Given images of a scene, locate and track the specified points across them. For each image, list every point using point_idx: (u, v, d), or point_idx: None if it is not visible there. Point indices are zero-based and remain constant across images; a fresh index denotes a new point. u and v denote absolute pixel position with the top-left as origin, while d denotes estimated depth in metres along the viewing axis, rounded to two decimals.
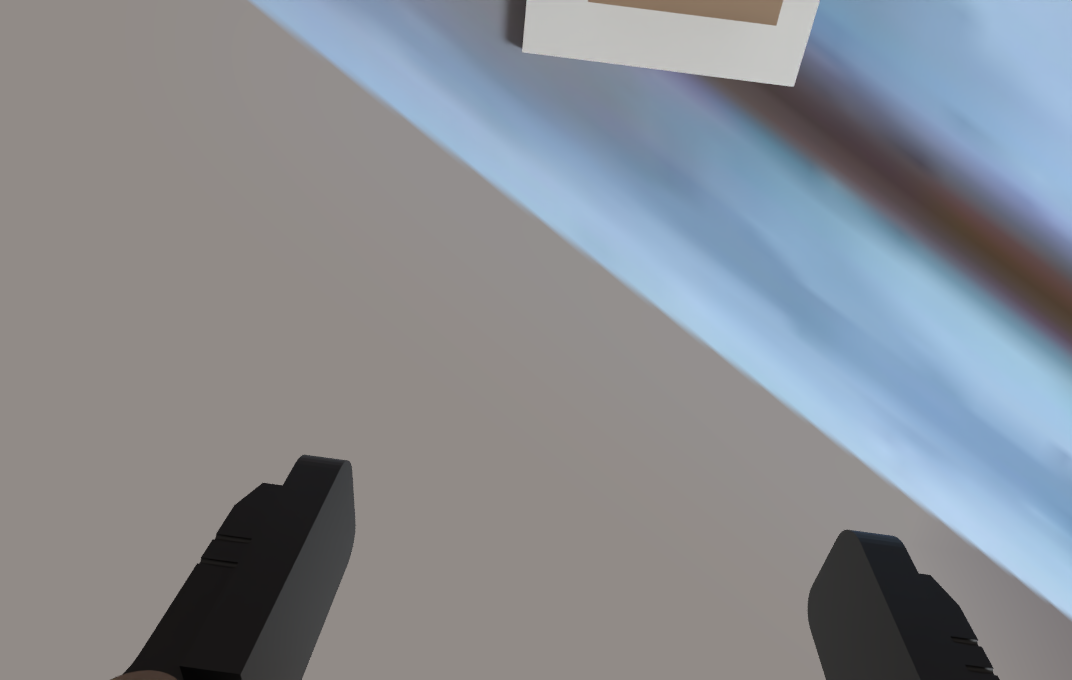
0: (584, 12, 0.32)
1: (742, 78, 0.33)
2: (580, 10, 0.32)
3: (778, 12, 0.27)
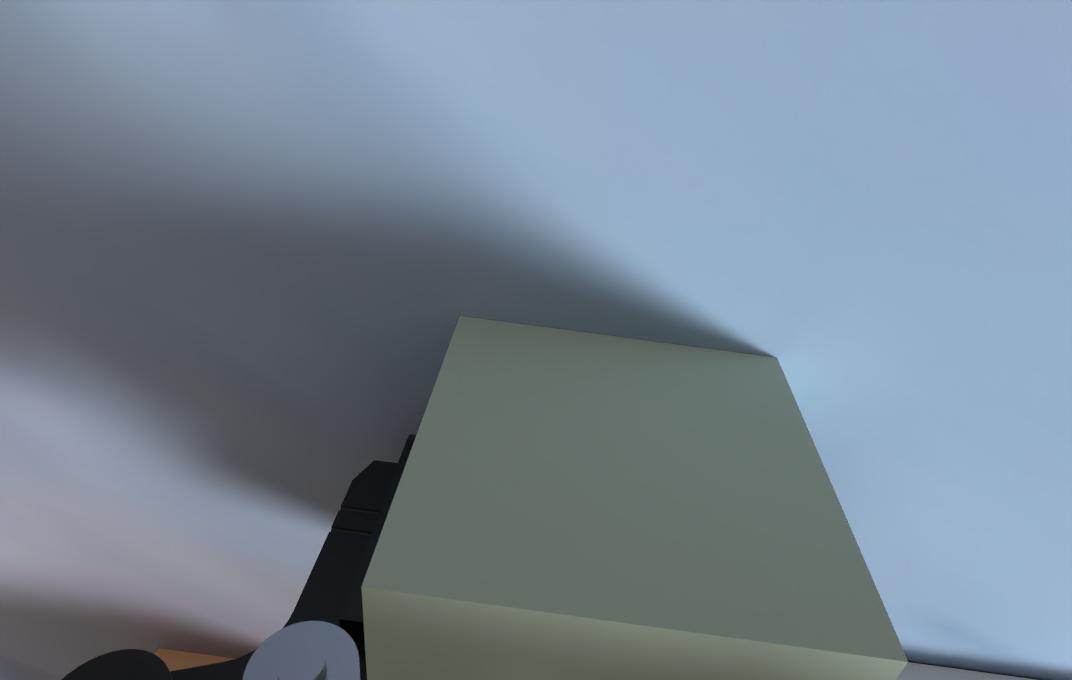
0: None
1: None
2: None
3: None
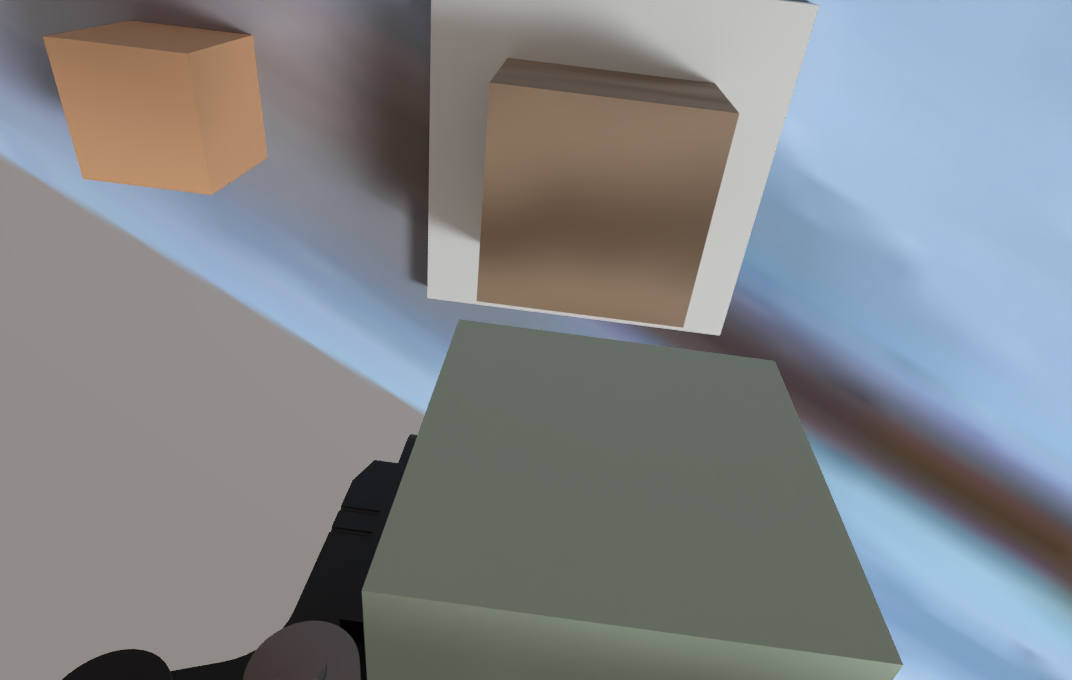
0: None
1: (664, 326, 0.30)
2: None
3: (684, 316, 0.24)
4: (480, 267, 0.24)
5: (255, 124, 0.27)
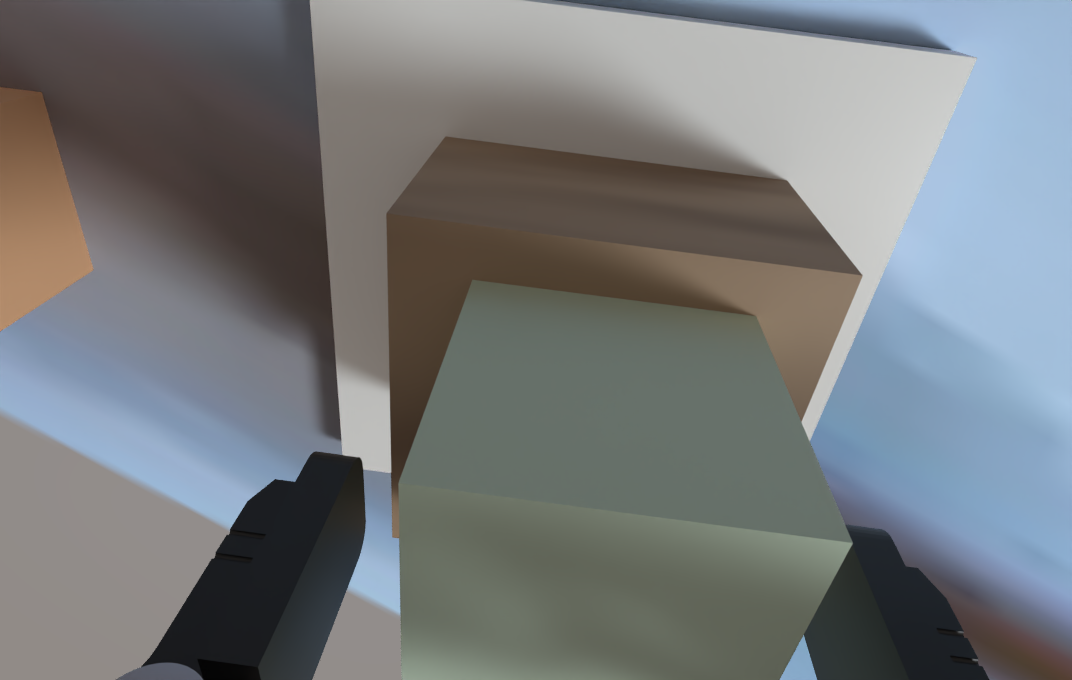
0: None
1: None
2: None
3: None
4: (394, 493, 0.14)
5: (60, 227, 0.17)
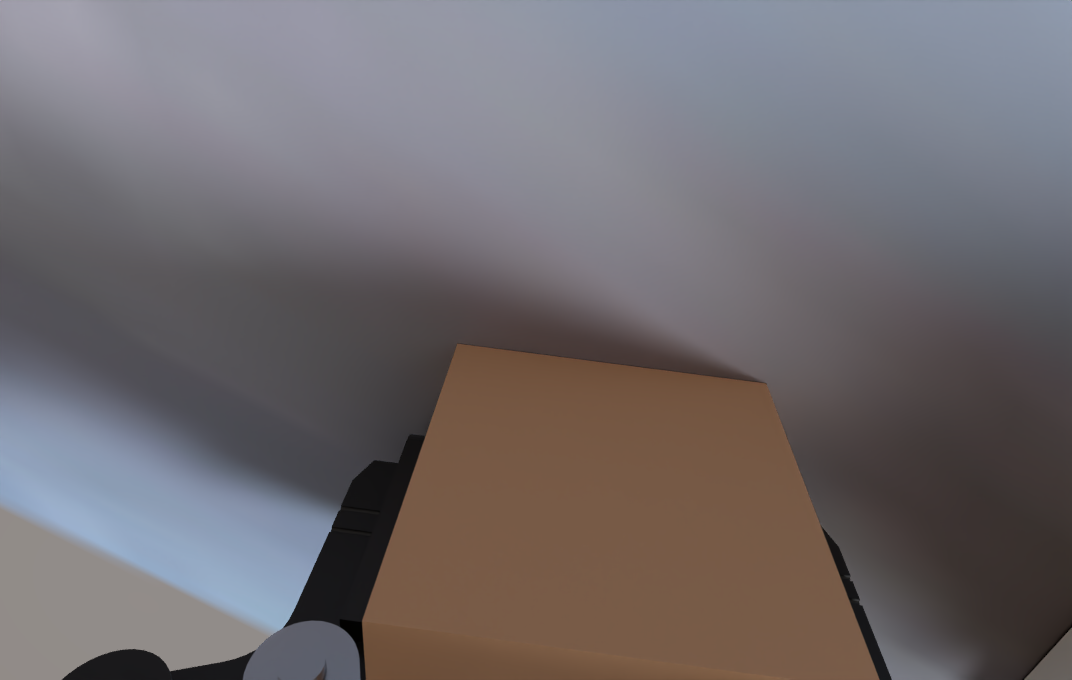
0: None
1: None
2: None
3: None
4: None
5: None
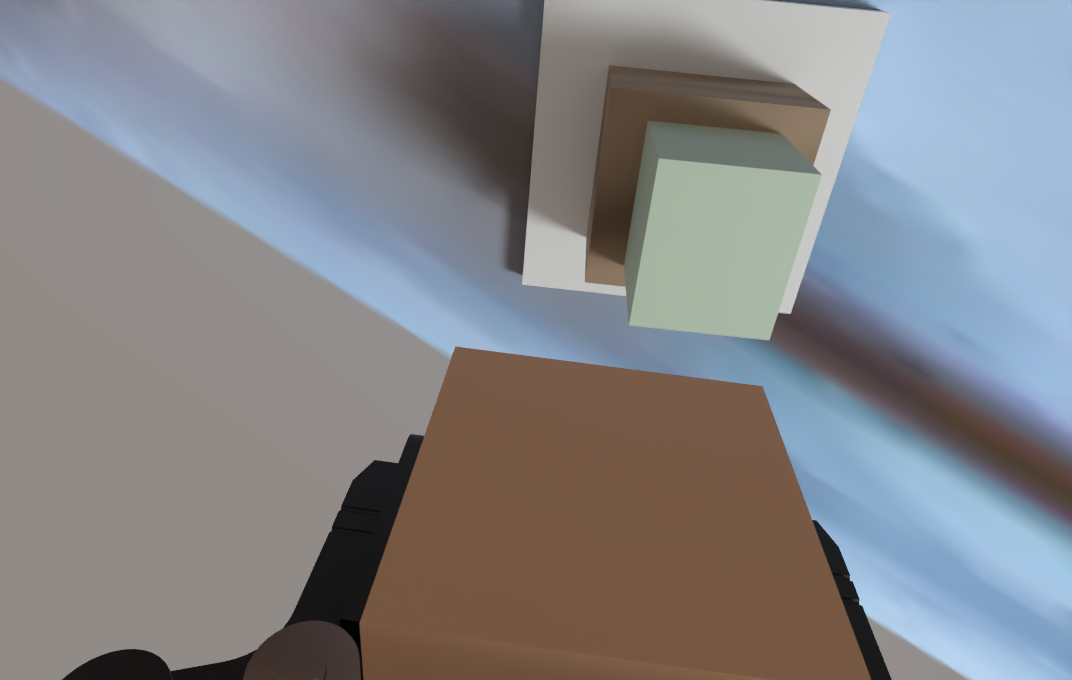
0: (582, 252, 0.33)
1: None
2: (578, 251, 0.32)
3: None
4: (590, 251, 0.27)
5: None
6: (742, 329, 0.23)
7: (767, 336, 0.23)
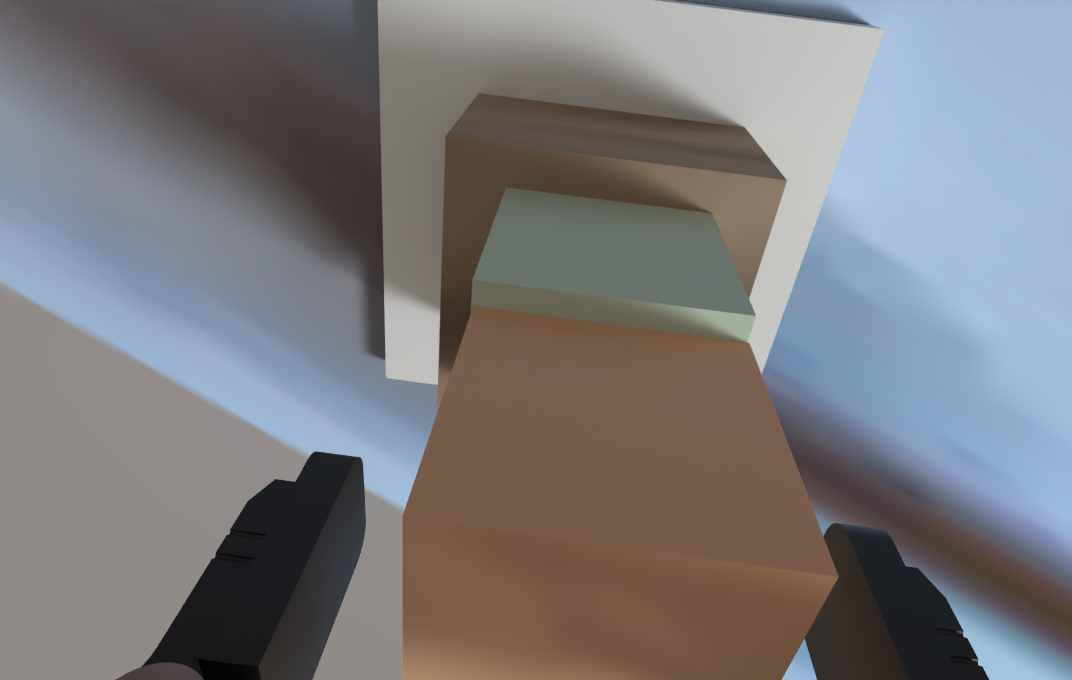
0: None
1: None
2: None
3: None
4: (440, 366, 0.18)
5: None
6: None
7: None
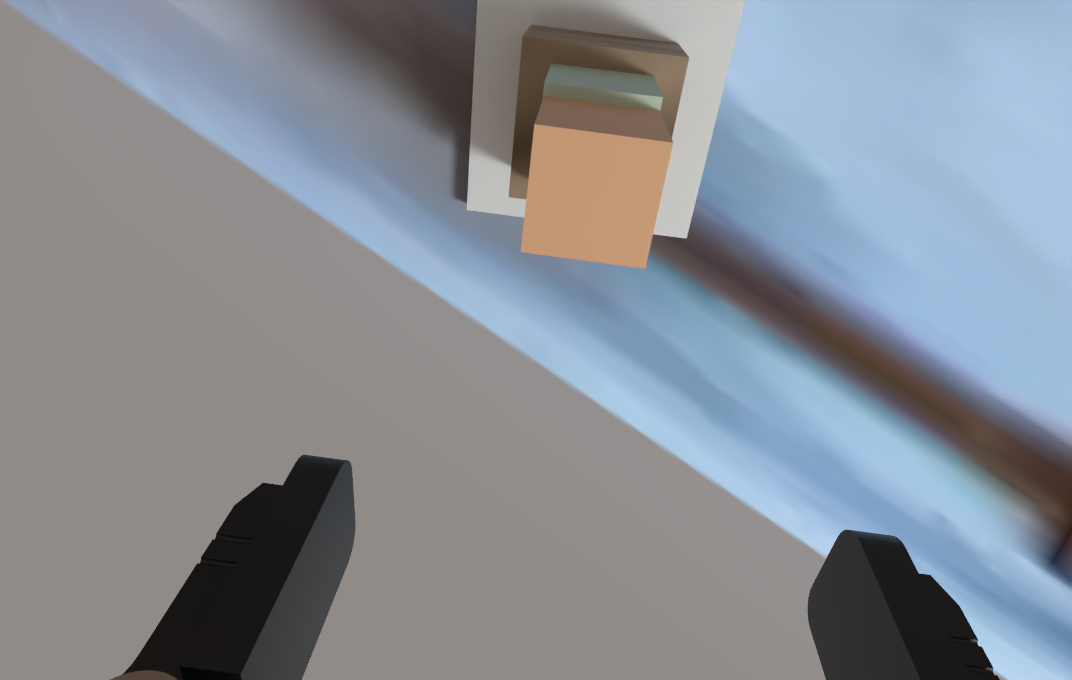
0: None
1: None
2: None
3: None
4: (512, 171, 0.34)
5: None
6: None
7: None
